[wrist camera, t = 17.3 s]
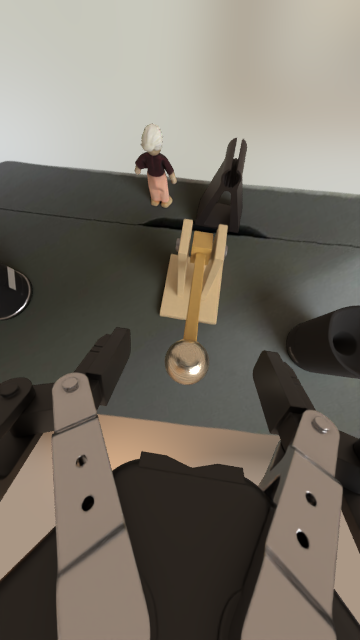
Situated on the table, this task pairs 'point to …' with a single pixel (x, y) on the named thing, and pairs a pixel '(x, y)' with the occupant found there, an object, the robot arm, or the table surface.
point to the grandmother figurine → (155, 166)
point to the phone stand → (223, 181)
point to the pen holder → (328, 343)
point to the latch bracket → (182, 278)
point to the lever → (192, 322)
